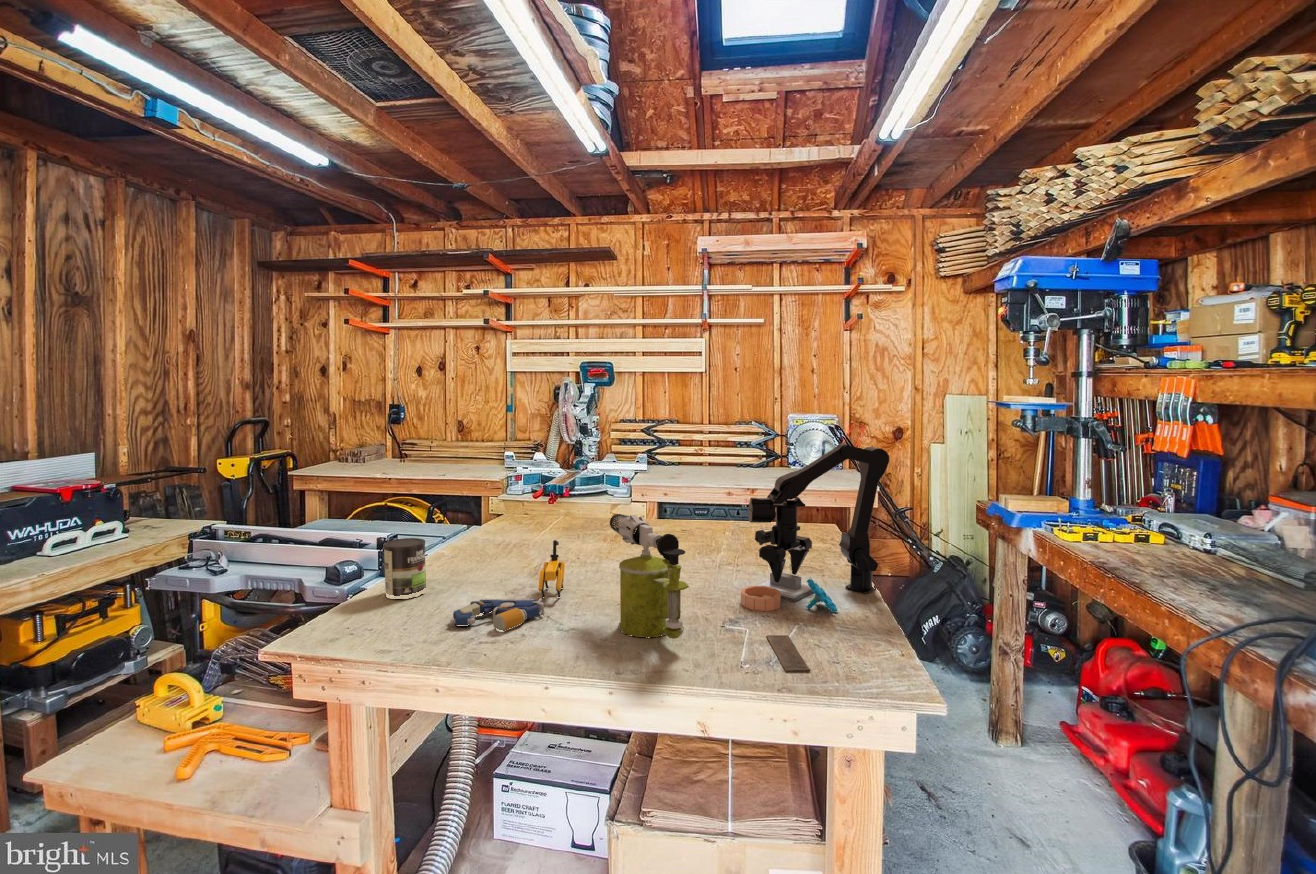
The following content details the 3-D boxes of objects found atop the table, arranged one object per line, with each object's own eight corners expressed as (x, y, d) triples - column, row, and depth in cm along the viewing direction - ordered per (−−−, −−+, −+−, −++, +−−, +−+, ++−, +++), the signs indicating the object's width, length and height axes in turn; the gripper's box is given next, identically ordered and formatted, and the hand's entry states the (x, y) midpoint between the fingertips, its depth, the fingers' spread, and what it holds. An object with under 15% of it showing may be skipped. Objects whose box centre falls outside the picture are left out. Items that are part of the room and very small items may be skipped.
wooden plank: (765, 634, 129) (788, 632, 129) (766, 639, 129) (788, 638, 129) (785, 670, 112) (811, 668, 112) (786, 677, 112) (811, 675, 113)
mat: (776, 578, 170) (776, 577, 170) (820, 589, 161) (820, 587, 161) (749, 589, 160) (749, 588, 160) (795, 602, 151) (795, 600, 151)
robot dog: (567, 581, 167) (567, 535, 166) (560, 603, 149) (560, 552, 148) (547, 581, 167) (547, 536, 166) (538, 604, 149) (537, 553, 148)
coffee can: (434, 589, 160) (433, 539, 159) (407, 602, 150) (406, 548, 149) (404, 585, 163) (403, 536, 162) (376, 597, 153) (374, 545, 152)
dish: (755, 594, 157) (755, 583, 156) (787, 603, 150) (788, 591, 150) (733, 603, 149) (733, 592, 149) (766, 613, 142) (766, 601, 142)
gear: (839, 613, 139) (809, 580, 141) (820, 628, 140) (791, 595, 142) (839, 603, 149) (812, 573, 152) (822, 618, 150) (795, 588, 153)
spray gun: (533, 635, 130) (549, 611, 145) (533, 616, 130) (548, 594, 145) (442, 635, 131) (467, 612, 146) (441, 617, 131) (466, 595, 146)
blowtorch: (653, 661, 117) (653, 539, 115) (594, 608, 146) (593, 510, 144) (708, 648, 123) (709, 532, 121) (640, 600, 152) (640, 505, 150)
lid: (777, 578, 169) (778, 566, 169) (815, 587, 161) (815, 575, 161) (754, 588, 160) (755, 575, 160) (793, 598, 152) (794, 585, 152)
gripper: (778, 513, 171) (778, 565, 173) (742, 523, 158) (742, 579, 159) (813, 518, 164) (812, 573, 165) (778, 529, 150) (777, 589, 151)
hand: (785, 578), depth 160 cm, fingers open, 9 cm apart
